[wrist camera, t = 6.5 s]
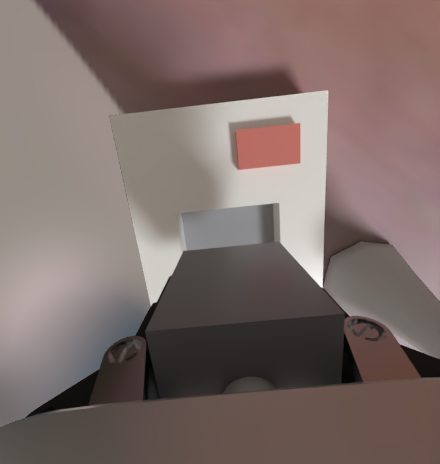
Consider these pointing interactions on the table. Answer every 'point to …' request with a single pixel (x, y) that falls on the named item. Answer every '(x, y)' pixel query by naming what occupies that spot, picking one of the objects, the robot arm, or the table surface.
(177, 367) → the plug
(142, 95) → the table surface
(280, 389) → the robot arm
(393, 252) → the flask
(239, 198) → the socket plate
